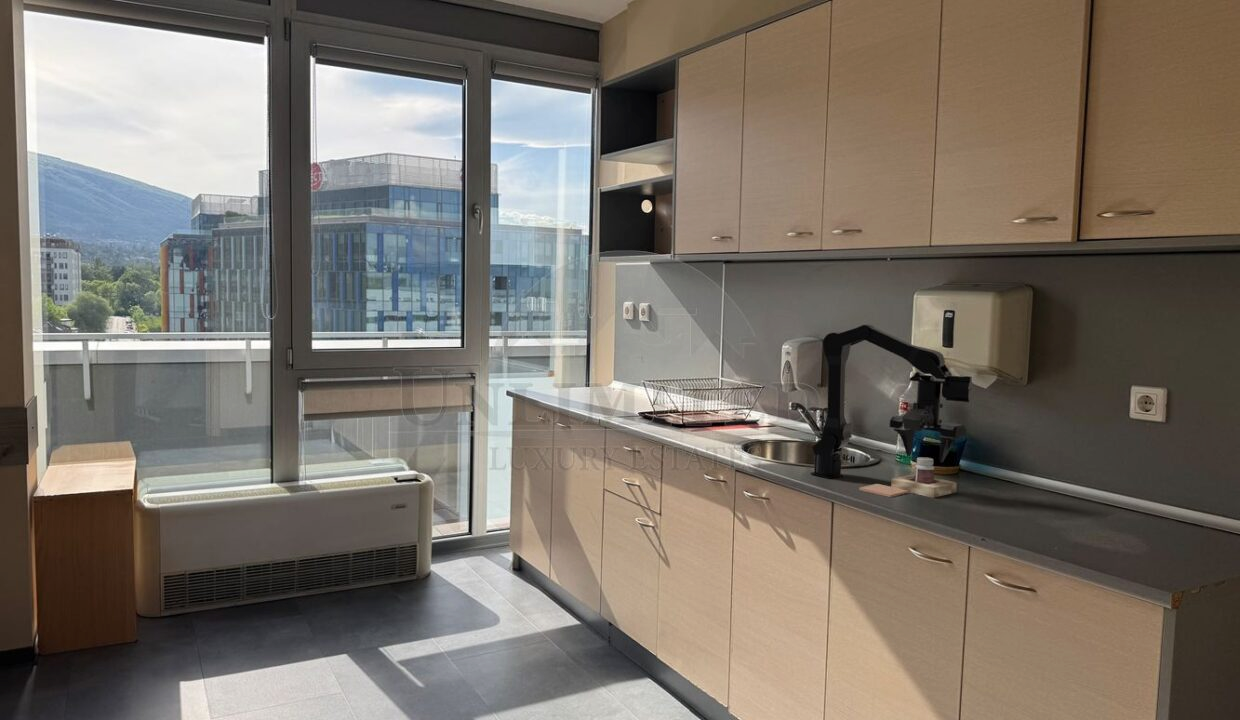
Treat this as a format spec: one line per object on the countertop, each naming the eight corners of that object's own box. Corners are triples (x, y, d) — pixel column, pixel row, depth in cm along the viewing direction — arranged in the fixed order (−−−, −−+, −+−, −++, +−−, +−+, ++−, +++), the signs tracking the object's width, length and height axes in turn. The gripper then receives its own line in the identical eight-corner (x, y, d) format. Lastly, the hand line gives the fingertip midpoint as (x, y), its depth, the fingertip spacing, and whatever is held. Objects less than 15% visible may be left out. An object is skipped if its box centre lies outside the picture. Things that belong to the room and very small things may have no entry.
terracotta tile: (859, 489, 217) (859, 487, 217) (877, 486, 222) (877, 483, 222) (890, 497, 210) (890, 494, 210) (907, 492, 215) (907, 490, 215)
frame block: (891, 488, 220) (891, 478, 220) (914, 483, 227) (914, 473, 227) (933, 497, 211) (933, 487, 211) (956, 492, 218) (956, 482, 218)
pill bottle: (937, 491, 218) (939, 459, 217) (922, 492, 216) (923, 460, 215) (924, 487, 222) (926, 456, 221) (909, 488, 220) (911, 456, 220)
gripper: (878, 396, 219) (875, 456, 220) (945, 406, 205) (941, 469, 206) (902, 394, 226) (899, 451, 228) (969, 403, 212) (965, 464, 213)
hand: (924, 459), depth 218 cm, fingers open, 9 cm apart
